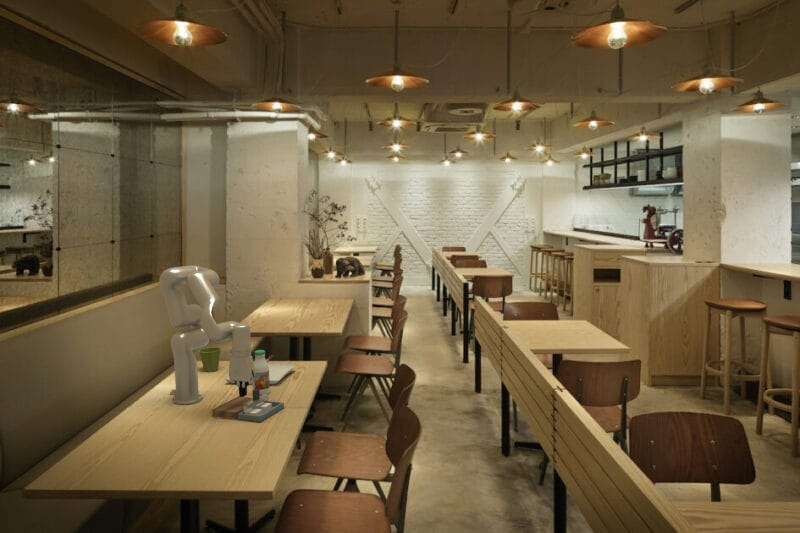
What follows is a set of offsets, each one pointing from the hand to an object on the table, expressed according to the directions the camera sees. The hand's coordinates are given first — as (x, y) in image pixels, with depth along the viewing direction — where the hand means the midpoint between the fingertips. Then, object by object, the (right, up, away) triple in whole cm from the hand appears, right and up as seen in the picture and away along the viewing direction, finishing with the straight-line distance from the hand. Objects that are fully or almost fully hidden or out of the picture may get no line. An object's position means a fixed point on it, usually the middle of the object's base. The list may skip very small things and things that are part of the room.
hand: (243, 395), depth 250 cm
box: (+8, -7, -2) cm, 11 cm away
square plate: (-4, -2, +51) cm, 51 cm away
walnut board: (-3, -7, +2) cm, 7 cm away
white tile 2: (+8, -6, +2) cm, 10 cm away
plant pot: (-35, -1, +66) cm, 75 cm away
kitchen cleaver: (-11, +1, +82) cm, 83 cm away
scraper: (+6, -4, -2) cm, 7 cm away
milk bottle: (+2, -5, +25) cm, 26 cm away
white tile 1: (+6, -7, -6) cm, 11 cm away
